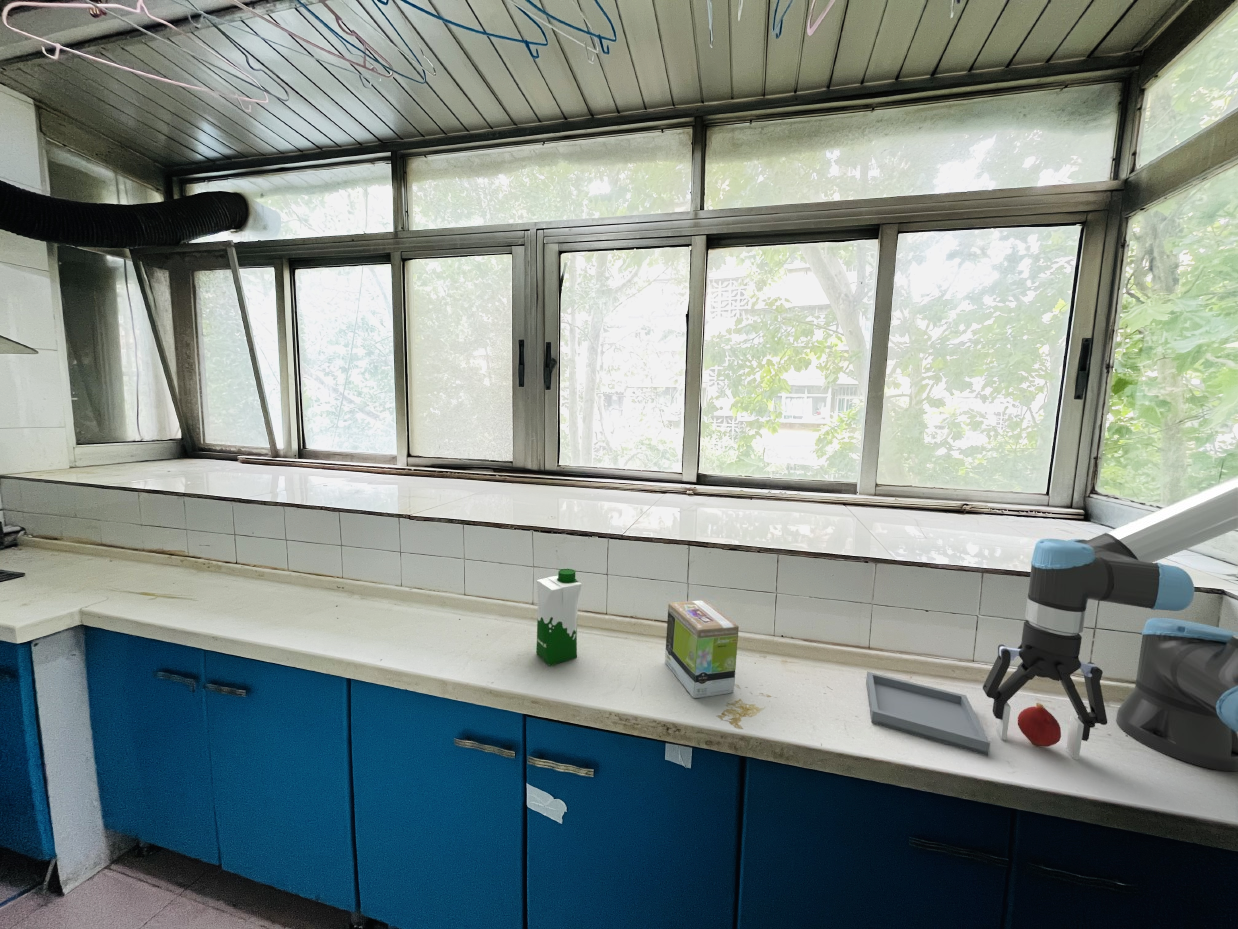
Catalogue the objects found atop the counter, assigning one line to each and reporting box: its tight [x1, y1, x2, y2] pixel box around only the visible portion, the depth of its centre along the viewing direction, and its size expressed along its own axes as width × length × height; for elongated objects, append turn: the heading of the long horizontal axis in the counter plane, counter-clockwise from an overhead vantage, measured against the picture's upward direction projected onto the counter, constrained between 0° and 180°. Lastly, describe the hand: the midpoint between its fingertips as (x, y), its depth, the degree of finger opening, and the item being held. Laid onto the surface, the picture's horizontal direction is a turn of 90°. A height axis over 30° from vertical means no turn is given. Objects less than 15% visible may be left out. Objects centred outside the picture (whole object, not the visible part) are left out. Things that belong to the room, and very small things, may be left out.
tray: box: [865, 671, 991, 757], centre depth 90 cm, size 18×16×2 cm
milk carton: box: [535, 568, 583, 667], centre depth 106 cm, size 9×9×20 cm
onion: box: [1017, 702, 1062, 748], centre depth 82 cm, size 6×6×8 cm
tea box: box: [664, 599, 740, 699], centre depth 100 cm, size 15×10×15 cm
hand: (1035, 744), depth 83 cm, fingers open, 9 cm apart
